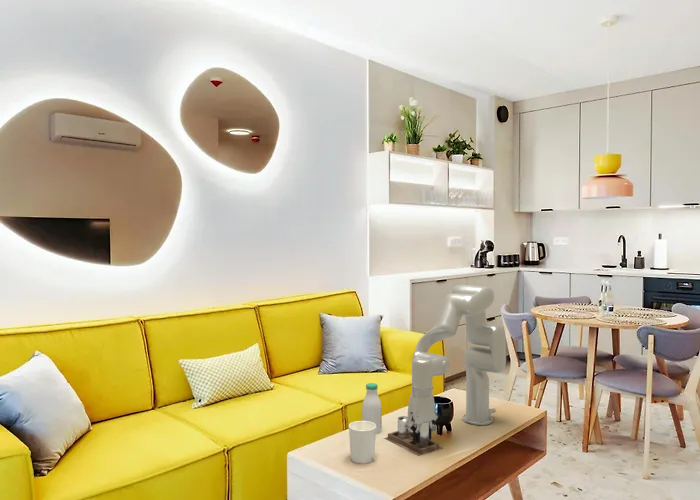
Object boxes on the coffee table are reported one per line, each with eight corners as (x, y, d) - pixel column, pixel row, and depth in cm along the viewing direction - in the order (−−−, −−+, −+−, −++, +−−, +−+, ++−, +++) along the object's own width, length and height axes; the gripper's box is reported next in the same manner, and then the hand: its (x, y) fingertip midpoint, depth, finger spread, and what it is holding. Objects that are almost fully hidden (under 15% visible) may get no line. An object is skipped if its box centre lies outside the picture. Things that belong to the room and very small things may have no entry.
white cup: (349, 452, 198) (349, 420, 198) (376, 453, 198) (376, 420, 197) (348, 464, 188) (348, 430, 188) (376, 464, 188) (376, 430, 188)
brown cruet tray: (407, 434, 216) (407, 427, 216) (443, 451, 199) (443, 443, 199) (383, 441, 209) (383, 434, 209) (418, 459, 192) (418, 451, 192)
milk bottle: (380, 438, 212) (379, 387, 211) (360, 436, 214) (360, 386, 213) (382, 430, 220) (382, 382, 219) (364, 429, 221) (363, 381, 221)
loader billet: (404, 435, 212) (404, 413, 211) (413, 439, 207) (413, 417, 207) (395, 438, 209) (395, 416, 208) (403, 442, 205) (403, 420, 204)
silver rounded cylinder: (422, 438, 203) (423, 416, 203) (431, 443, 199) (431, 420, 199) (412, 441, 201) (412, 418, 200) (421, 446, 196) (421, 422, 196)
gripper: (431, 385, 207) (431, 432, 208) (397, 393, 197) (397, 442, 198) (446, 390, 201) (445, 438, 202) (411, 398, 191) (411, 449, 192)
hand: (421, 439), depth 200 cm, fingers closed on silver rounded cylinder, 5 cm apart
